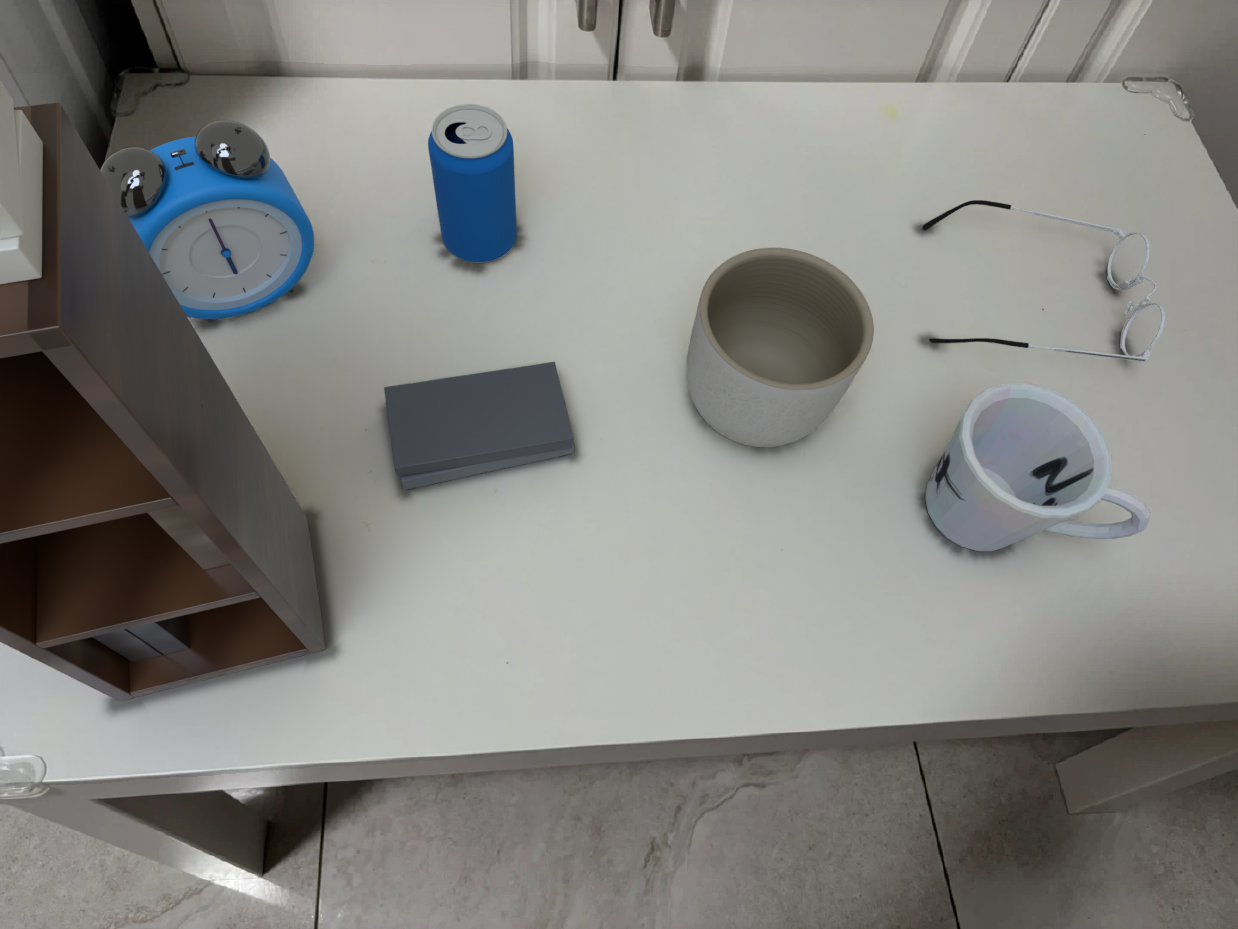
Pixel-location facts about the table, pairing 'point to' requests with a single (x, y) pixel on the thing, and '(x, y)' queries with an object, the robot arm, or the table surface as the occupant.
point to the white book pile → (19, 195)
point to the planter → (775, 345)
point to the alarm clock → (215, 218)
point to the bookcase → (132, 467)
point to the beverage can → (474, 182)
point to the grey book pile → (476, 423)
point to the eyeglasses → (1123, 286)
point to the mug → (1025, 472)
